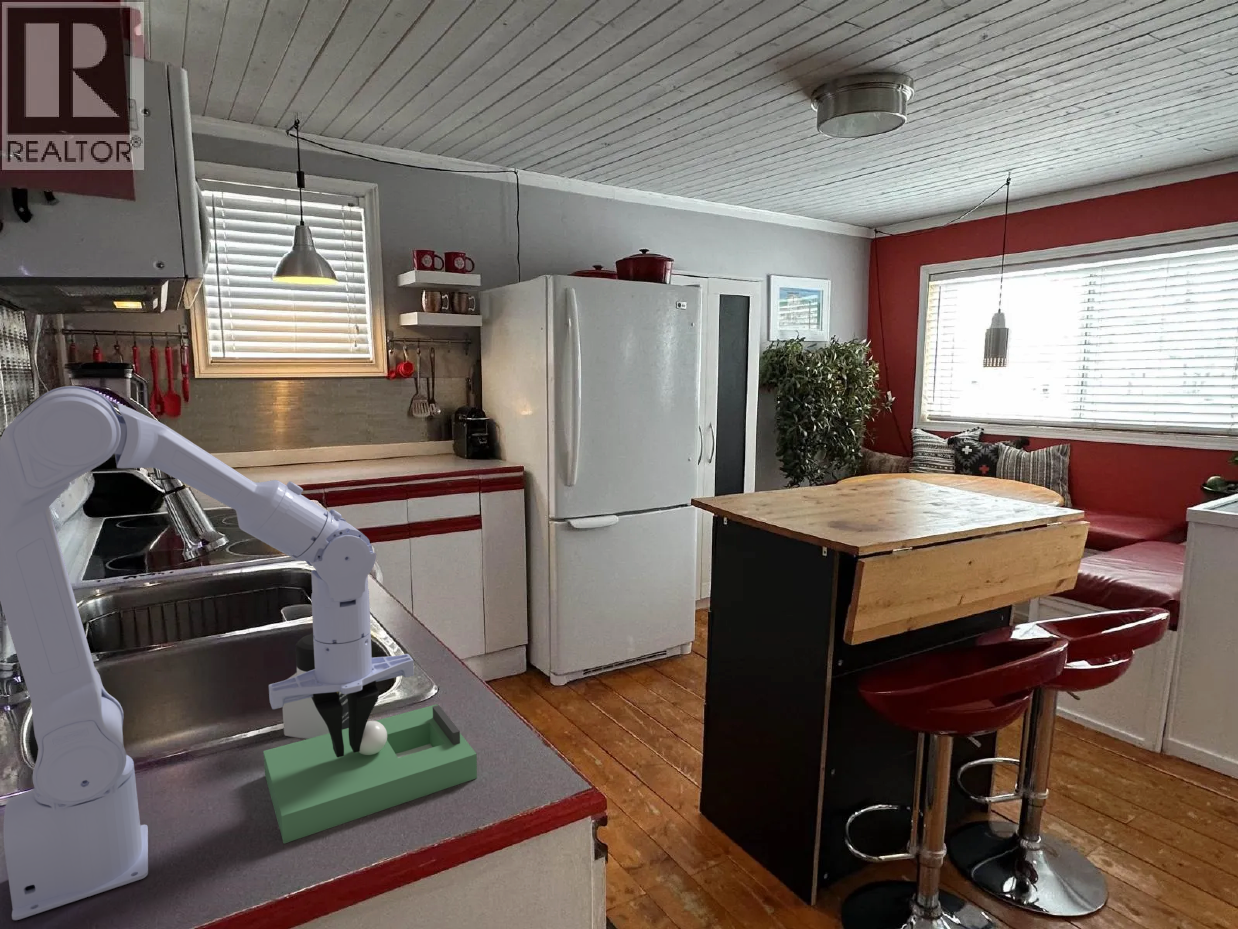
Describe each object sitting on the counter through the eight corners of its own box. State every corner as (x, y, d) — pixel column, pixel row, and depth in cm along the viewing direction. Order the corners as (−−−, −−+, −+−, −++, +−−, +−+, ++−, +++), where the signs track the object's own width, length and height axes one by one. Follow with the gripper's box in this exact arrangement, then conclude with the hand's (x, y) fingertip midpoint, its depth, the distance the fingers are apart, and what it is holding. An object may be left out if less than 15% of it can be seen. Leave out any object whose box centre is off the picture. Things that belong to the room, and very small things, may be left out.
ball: (351, 744, 76) (382, 723, 77) (344, 728, 79) (373, 709, 80) (366, 768, 77) (396, 747, 79) (358, 752, 80) (387, 732, 81)
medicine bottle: (334, 744, 86) (330, 651, 84) (282, 737, 87) (277, 645, 85) (366, 714, 92) (363, 628, 90) (318, 708, 94) (313, 623, 92)
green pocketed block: (283, 843, 68) (280, 802, 68) (264, 775, 79) (262, 738, 78) (476, 778, 79) (476, 741, 79) (437, 725, 90) (436, 693, 89)
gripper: (273, 663, 68) (281, 790, 70) (421, 632, 76) (424, 747, 78) (263, 637, 74) (270, 756, 76) (401, 611, 82) (405, 719, 84)
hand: (347, 749), depth 77 cm, fingers closed
